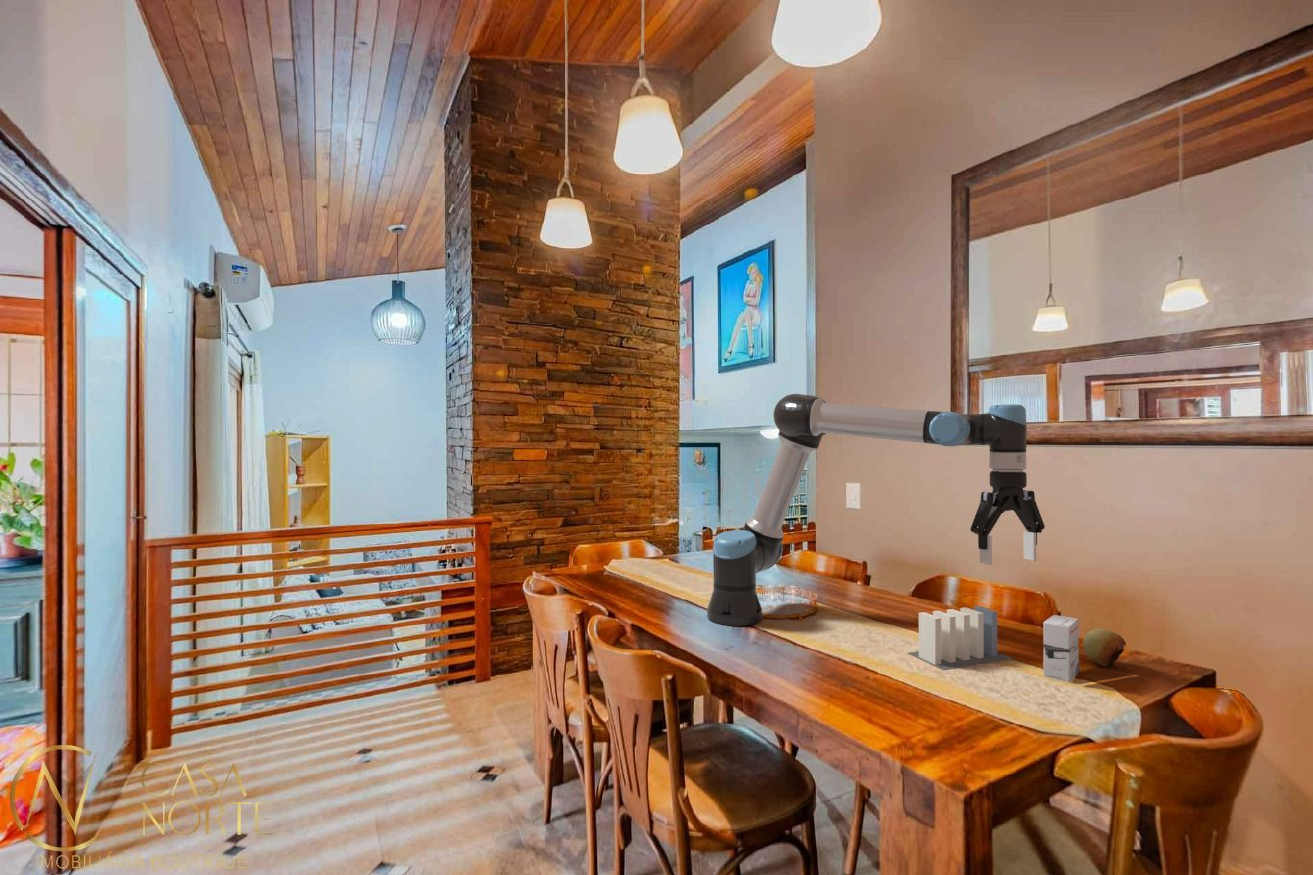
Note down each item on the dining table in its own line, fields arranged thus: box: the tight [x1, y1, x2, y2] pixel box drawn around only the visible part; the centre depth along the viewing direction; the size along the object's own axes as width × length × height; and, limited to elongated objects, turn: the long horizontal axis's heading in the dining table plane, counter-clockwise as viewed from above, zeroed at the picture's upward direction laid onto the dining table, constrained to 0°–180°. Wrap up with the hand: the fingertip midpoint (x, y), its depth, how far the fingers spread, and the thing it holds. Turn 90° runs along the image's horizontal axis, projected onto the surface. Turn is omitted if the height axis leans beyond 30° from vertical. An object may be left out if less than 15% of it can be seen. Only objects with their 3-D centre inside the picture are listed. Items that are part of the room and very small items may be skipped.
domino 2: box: [932, 610, 956, 663], centre depth 137 cm, size 2×5×10 cm, turn 19°
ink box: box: [1042, 614, 1080, 683], centre depth 128 cm, size 8×5×12 cm, turn 134°
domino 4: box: [959, 606, 984, 658], centre depth 140 cm, size 2×5×10 cm, turn 19°
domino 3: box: [946, 608, 970, 660], centre depth 138 cm, size 2×5×10 cm, turn 19°
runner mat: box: [907, 650, 1015, 671], centre depth 139 cm, size 11×20×1 cm, turn 109°
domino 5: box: [973, 605, 998, 656], centre depth 141 cm, size 2×5×10 cm, turn 19°
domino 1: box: [918, 611, 941, 665], centre depth 136 cm, size 2×5×10 cm, turn 19°
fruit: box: [1082, 628, 1127, 668], centre depth 134 cm, size 8×8×8 cm
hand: (1008, 561), depth 143 cm, fingers open, 13 cm apart
